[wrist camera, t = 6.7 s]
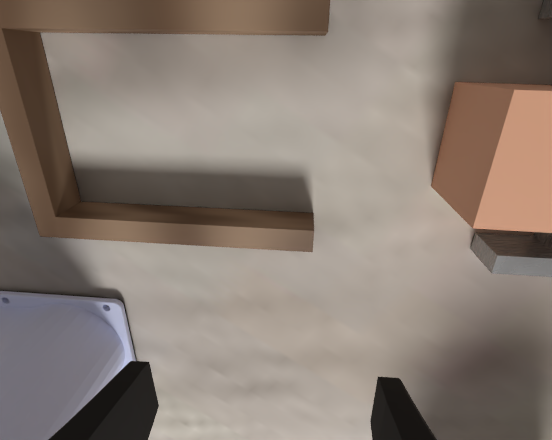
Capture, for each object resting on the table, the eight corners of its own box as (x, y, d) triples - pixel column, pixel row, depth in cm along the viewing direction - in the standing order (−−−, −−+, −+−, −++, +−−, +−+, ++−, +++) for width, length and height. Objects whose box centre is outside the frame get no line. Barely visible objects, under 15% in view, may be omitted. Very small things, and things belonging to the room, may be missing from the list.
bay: (66, 219, 20) (40, 236, 18) (7, 2, 16) (-37, -7, 14) (312, 232, 19) (312, 252, 17) (327, 3, 15) (330, -6, 13)
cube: (430, 185, 18) (472, 228, 13) (454, 81, 16) (514, 89, 11) (531, 190, 17) (610, 236, 13) (570, 85, 15) (680, 95, 11)
